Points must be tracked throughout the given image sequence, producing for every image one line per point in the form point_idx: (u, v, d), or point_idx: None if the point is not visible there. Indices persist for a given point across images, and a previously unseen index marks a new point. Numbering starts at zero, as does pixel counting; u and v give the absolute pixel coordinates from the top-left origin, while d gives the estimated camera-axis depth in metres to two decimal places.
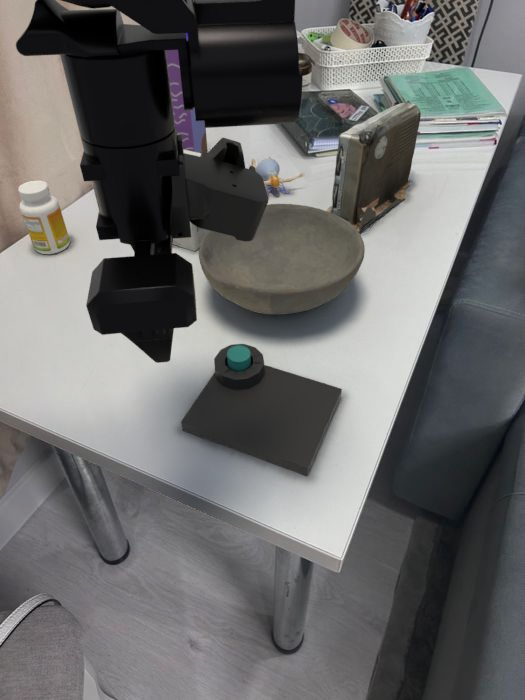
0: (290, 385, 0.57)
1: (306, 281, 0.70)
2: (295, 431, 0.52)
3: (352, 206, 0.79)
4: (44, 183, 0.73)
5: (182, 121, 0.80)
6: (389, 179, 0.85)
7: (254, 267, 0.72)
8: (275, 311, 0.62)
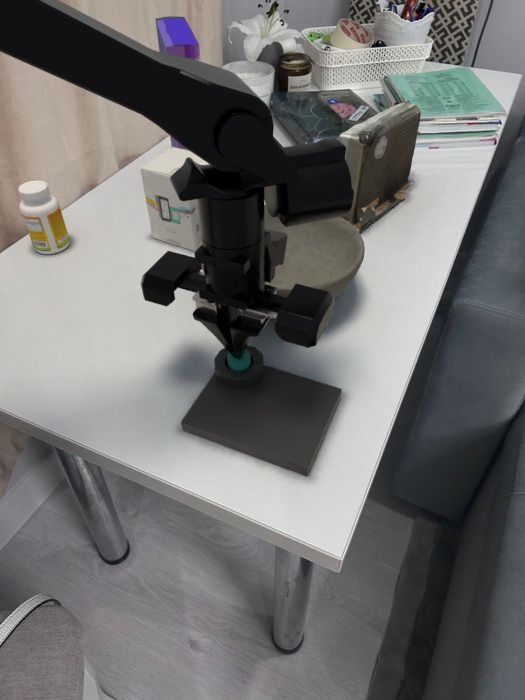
0: (290, 385, 0.57)
1: (306, 281, 0.70)
2: (295, 431, 0.52)
3: (352, 206, 0.79)
4: (44, 183, 0.73)
5: None
6: (389, 179, 0.85)
7: None
8: None
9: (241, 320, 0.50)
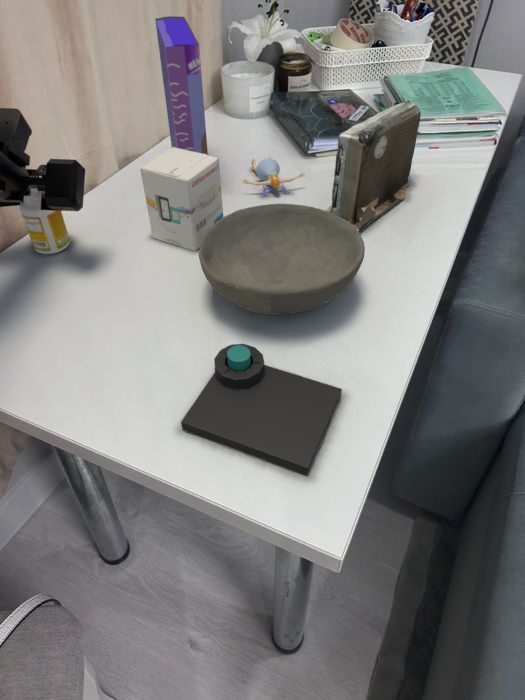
0: (290, 385, 0.57)
1: (306, 281, 0.70)
2: (295, 431, 0.52)
3: (352, 205, 0.79)
4: None
5: (182, 121, 0.80)
6: (388, 179, 0.85)
7: (254, 267, 0.72)
8: (275, 311, 0.62)
9: (44, 199, 0.68)
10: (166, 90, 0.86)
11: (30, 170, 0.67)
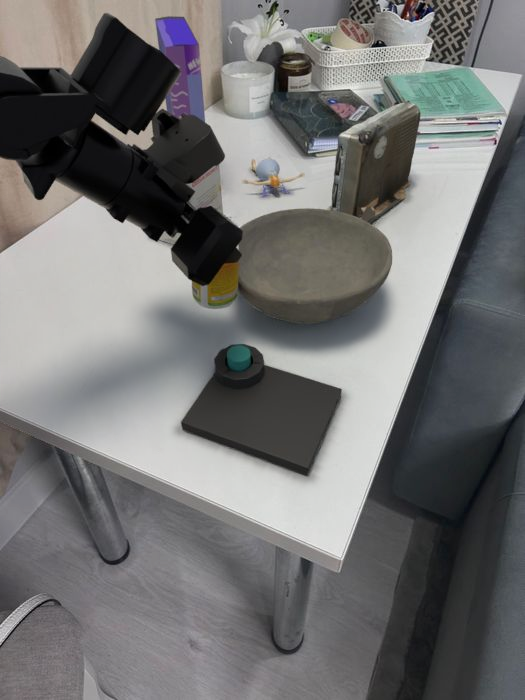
0: (290, 385, 0.57)
1: (329, 282, 0.70)
2: (295, 431, 0.52)
3: (352, 205, 0.79)
4: None
5: None
6: (388, 179, 0.85)
7: (272, 280, 0.70)
8: (331, 317, 0.61)
9: None
10: None
11: (189, 208, 0.48)
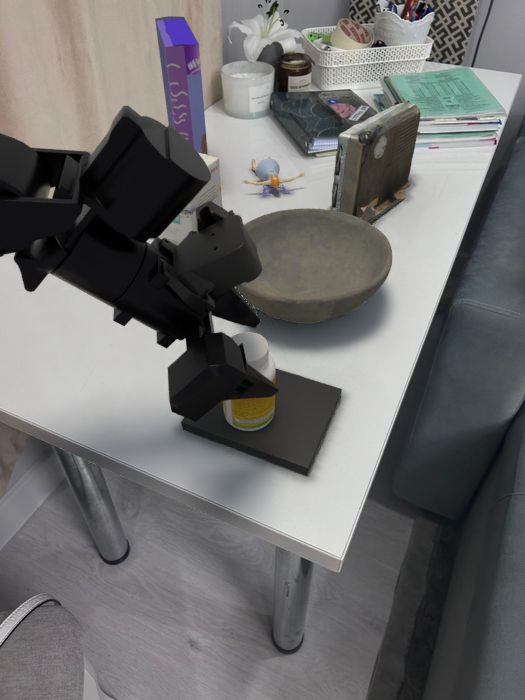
0: (290, 385, 0.57)
1: (329, 282, 0.70)
2: (295, 431, 0.52)
3: (352, 205, 0.79)
4: (261, 354, 0.46)
5: (181, 121, 0.80)
6: (388, 179, 0.85)
7: (272, 279, 0.70)
8: (331, 317, 0.61)
9: None
10: (166, 90, 0.86)
11: None
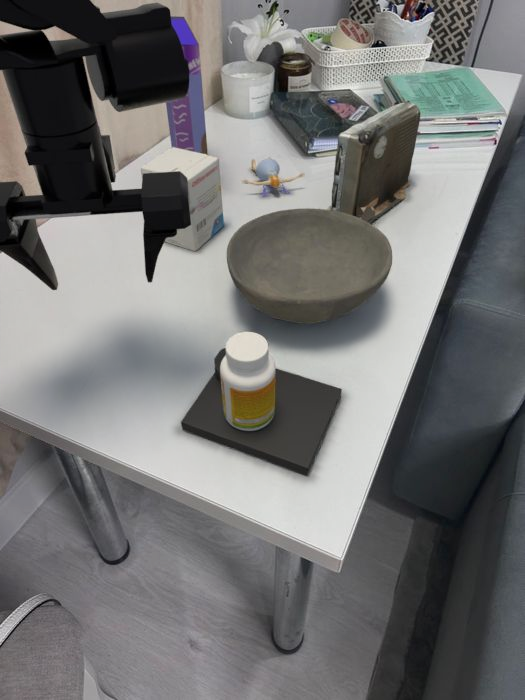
0: (290, 385, 0.57)
1: (329, 282, 0.70)
2: (295, 431, 0.52)
3: (351, 205, 0.79)
4: (260, 354, 0.46)
5: (181, 121, 0.80)
6: (388, 179, 0.85)
7: (272, 279, 0.70)
8: (331, 317, 0.61)
9: None
10: None
11: None
